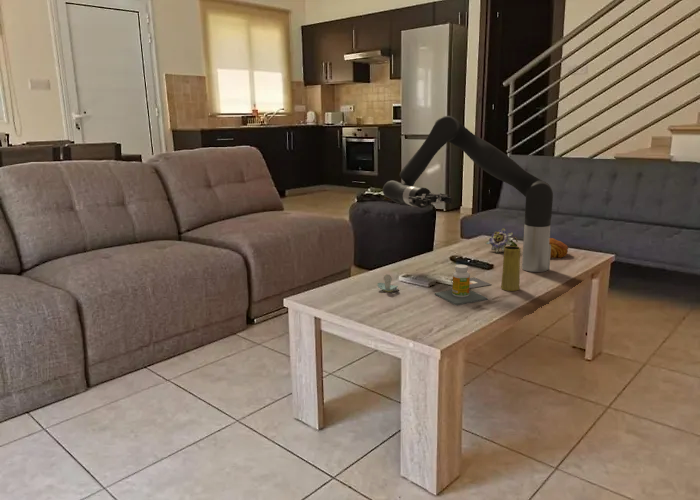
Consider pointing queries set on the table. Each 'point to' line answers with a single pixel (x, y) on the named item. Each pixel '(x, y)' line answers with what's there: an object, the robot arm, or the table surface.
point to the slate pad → (460, 300)
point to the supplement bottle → (461, 281)
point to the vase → (511, 269)
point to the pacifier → (387, 284)
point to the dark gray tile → (477, 283)
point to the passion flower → (501, 240)
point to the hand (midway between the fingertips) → (441, 201)
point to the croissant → (557, 248)
